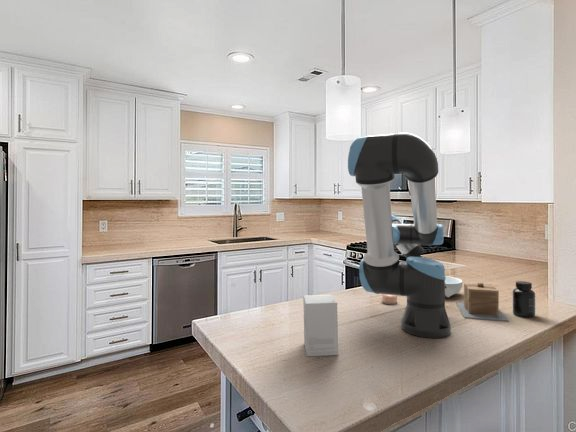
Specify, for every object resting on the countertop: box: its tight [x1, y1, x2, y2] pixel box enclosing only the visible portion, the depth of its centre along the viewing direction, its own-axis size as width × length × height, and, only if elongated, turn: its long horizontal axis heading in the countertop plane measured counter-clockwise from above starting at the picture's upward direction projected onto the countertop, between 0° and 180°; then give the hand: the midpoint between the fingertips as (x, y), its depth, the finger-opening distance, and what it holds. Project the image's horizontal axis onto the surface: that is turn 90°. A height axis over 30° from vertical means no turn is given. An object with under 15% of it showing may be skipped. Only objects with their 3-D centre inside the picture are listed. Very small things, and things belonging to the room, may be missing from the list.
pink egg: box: [381, 294, 398, 305], centre depth 142 cm, size 6×6×3 cm
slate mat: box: [455, 302, 510, 322], centre depth 128 cm, size 18×14×1 cm
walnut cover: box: [463, 282, 500, 316], centre depth 128 cm, size 10×10×10 cm
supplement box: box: [302, 294, 339, 357], centre depth 98 cm, size 9×9×15 cm
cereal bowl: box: [445, 275, 463, 298], centre depth 153 cm, size 17×17×7 cm
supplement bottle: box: [512, 280, 536, 319], centre depth 124 cm, size 7×7×12 cm
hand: (448, 292), depth 132 cm, fingers open, 13 cm apart
